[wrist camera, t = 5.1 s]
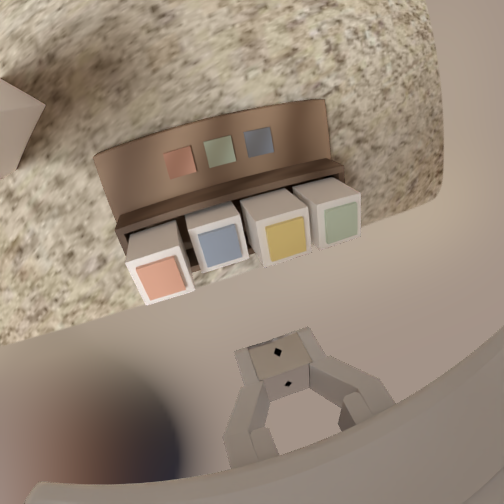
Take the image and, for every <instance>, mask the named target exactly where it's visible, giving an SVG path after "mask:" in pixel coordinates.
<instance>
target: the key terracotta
mask: <svg viewBox="0 0 504 504" xmlns="http://www.w3.org/2000/svg"><path fill="white" fill-rule="evenodd" d="M125 264H126V266H127V268H128V270H129V272H130V274H131V276H132V278H133V280H134V282H135V284H136V287H137V289H138V291H139V293H140V295H141V296H142V298H143V300H144V302H145V304H146V306H147V305H150V304H153V303H157V302H160V301H163V300H166V299H170V298H173V297H176V296H179V295H183V294H186V293H189V292H192V291H195V286H194V281H193V277H192V272H191V267H190V262H189V258H188V255H187V252H186V249H185V247H184V244H183V241H182V238H181V235H180V232H179V229H178V226H177V223H176V220H173V221H170V222H167V223H164V224H161V225H158V226H155V227H152V228H149V229H146V230H143V231H140V232H137V233H134V234H131V235H130V238H129V244H128V249H127V255H126V261H125Z"/></svg>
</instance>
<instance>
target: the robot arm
mask: <svg viewBox="0 0 504 504" xmlns="http://www.w3.org/2000/svg"><path fill="white" fill-rule="evenodd" d="M234 353H235V357H236V360H237V364H238V367H239V370H240V373H241V376H242V380H243V383H244V386H243V387H241V388H240V391H239V394H238V397H237V400H236V403H235V405H234V408H233V411H232V413H231V416H230V419H229V422H228V424H227V427H226V430H225V432H224V435H223V441H224V445H225V448H226V452H227V456H228V459H229V463H230V467H231V469H230V470H225V471H221V472H217V473H212V474H207V475H201V476H195V477H190V478H183V479H176V480H169V481H160V482H150V483H138V484H120V485H83V484H64V483H54V482H39V483H38V484H37V485H36V486H35V487H34V488H33V489H32V491H31V492H30V494H29V495H28V497H27V498H26V500H25V502H24V504H504V326H503V327H502V328H501V329H499V330H498V331H497V332H496V333H495V334H494V335H493V336H492V337H490V338H489V339H488V340H487V341H486V342H485V343H483V344H482V345H481V346H480V347H479V348H477V349H476V350H475V351H474V352H472V353H471V354H470V355H469V356H468V357H466V358H465V359H463V360H462V361H461V362H459V363H458V364H457V365H455V366H454V367H453V368H451V369H450V370H448V371H447V372H446V373H444V374H443V375H441V376H440V377H438V378H437V379H436V380H434V381H433V382H431V383H430V384H428V385H426V386H425V387H423V388H422V389H421V390H419V391H417V392H415V393H414V394H413V395H411V396H409V397H407V398H406V399H404V400H402V401H400V402H399V403H397V404H396V403H395V402H394V400H393V399H392V397H391V395H390V394H389V393H388V391H387V389H386V388H385V386H384V385H383V383H382V382H381V381H380V379H379V378H377V377H374V376H372V375H370V374H368V373H366V372H364V371H361V370H359V369H357V368H355V367H353V366H351V365H349V364H347V363H345V362H342V361H340V360H338V359H336V358H334V357H332V356H327V357H326V355H325V353H324V351H323V350H322V348H321V346H320V345H319V343H318V341H317V339H316V338H315V336H314V334H313V333H312V331H311V329H310V328H309V327H305V328H302V329H299V330H297V331H293V332H291V333H288V334H285V335H282V336H280V337H277V338H274V339H272V340H269V341H266V342H263V343H260V344H256V345H253V346H249V347H246V348H243V349H239V350H236V351H234ZM307 388H310V389H312V390H313V391H315V392H317V393H318V394H320V395H321V396H323V397H324V398H326V399H327V400H329V401H330V402H332V403H334V404H335V405H337V406H338V407H340V408H341V412H340V417H339V421H338V425H339V427H340V429H341V431H342V432H340V433H338V434H335V435H333V436H330V437H328V438H326V439H323V440H321V441H318V442H316V443H313V444H311V445H308V446H306V447H303V448H300V449H297V450H294V451H291V452H289V453H286V454H283V455H280V456H279V453H278V451H277V448H276V446H275V443H274V440H273V438H272V435H271V433H270V430H269V429H268V428H265V427H264V426H265V422H266V418H267V414H268V410H269V405H270V402H271V401H274V400H277V399H279V398H282V397H285V396H287V395H290V394H293V393H296V392H299V391H302V390H305V389H307Z"/></svg>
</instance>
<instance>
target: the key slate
mask: <svg viewBox="0 0 504 504" xmlns="http://www.w3.org/2000/svg"><path fill="white" fill-rule="evenodd" d="M185 219H186V224H187V229H188V233H189V236H190V239H191V242H192V245H193V248H194V251H195V254H196V257H197V260H198V263H199V266H200V269H201V272H202V273H205V272H208V271H212V270H215V269H218V268H221V267H224V266H227V265H231V264H234V263H237V262H240V261H243V260H247V259H249V254H248V249H247V245H246V240H245V236H244V231H243V227H242V222H241V217H240V214H239V212H238V211H237V209H236V208H235V206H234V205H233V203H232V202H231V201H228V202H225V203H221V204H218V205H214V206H211V207H208V208H204V209H201V210H198V211H194V212H191V213H188V214H185Z"/></svg>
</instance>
